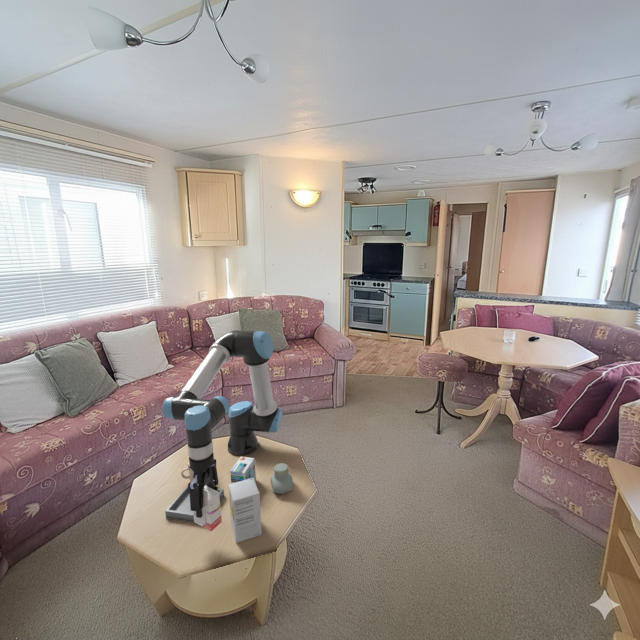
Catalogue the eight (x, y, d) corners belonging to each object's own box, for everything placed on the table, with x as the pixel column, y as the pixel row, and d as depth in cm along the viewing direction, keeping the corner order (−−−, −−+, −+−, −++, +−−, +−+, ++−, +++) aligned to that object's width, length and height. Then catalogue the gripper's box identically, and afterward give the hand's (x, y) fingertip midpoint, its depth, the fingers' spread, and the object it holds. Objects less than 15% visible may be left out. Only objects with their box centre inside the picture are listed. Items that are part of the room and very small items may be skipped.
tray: (188, 490, 142) (188, 484, 142) (224, 495, 139) (223, 489, 139) (166, 517, 128) (165, 511, 127) (204, 524, 125) (204, 517, 124)
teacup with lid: (210, 471, 155) (208, 447, 153) (212, 483, 147) (210, 458, 145) (181, 478, 150) (179, 454, 148) (182, 491, 142) (180, 466, 140)
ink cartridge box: (222, 521, 115) (219, 483, 112) (211, 532, 111) (207, 493, 108) (205, 512, 119) (201, 475, 116) (193, 522, 115) (189, 484, 112)
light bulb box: (246, 496, 139) (245, 473, 136) (231, 494, 140) (229, 471, 138) (256, 479, 149) (255, 457, 147) (242, 477, 150) (240, 455, 148)
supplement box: (231, 524, 125) (227, 483, 121) (256, 516, 128) (253, 476, 125) (235, 544, 116) (232, 501, 113) (262, 535, 120) (260, 492, 116)
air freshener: (294, 494, 139) (293, 473, 137) (274, 499, 137) (273, 477, 135) (288, 478, 149) (288, 457, 147) (270, 482, 147) (269, 461, 145)
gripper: (205, 436, 120) (211, 494, 124) (172, 471, 101) (180, 537, 106) (225, 438, 118) (230, 496, 123) (195, 474, 100) (202, 540, 105)
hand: (207, 515), depth 115 cm, fingers closed on ink cartridge box, 6 cm apart
